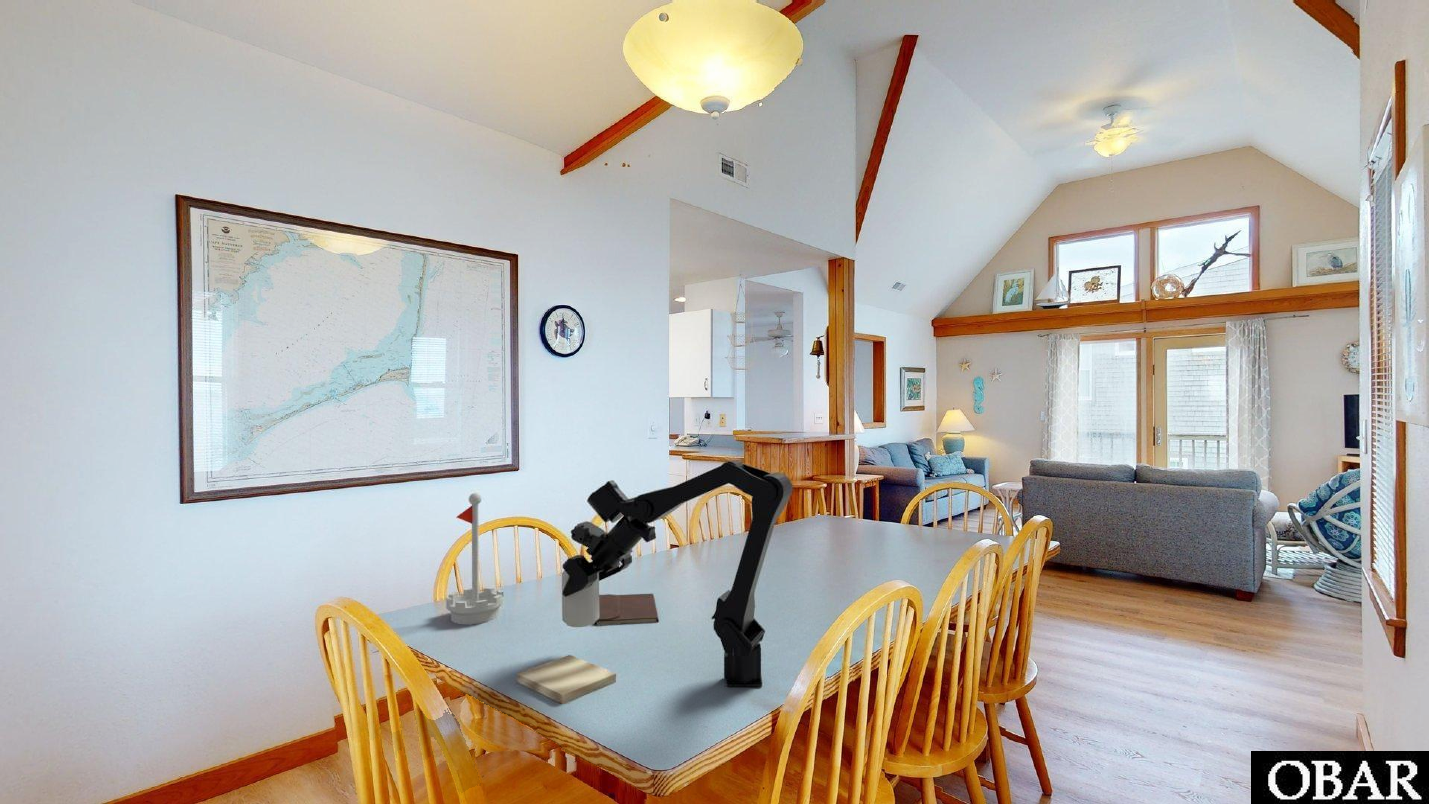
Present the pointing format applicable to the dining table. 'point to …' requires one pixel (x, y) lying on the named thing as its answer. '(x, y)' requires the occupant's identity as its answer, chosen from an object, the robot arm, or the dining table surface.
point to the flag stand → (474, 582)
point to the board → (566, 678)
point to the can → (580, 605)
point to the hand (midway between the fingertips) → (574, 589)
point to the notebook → (627, 609)
